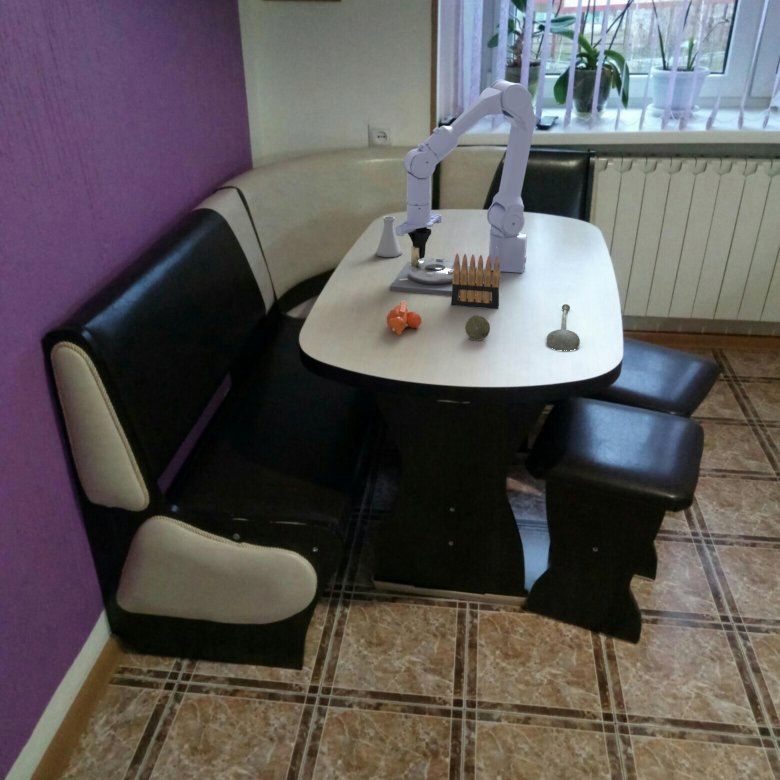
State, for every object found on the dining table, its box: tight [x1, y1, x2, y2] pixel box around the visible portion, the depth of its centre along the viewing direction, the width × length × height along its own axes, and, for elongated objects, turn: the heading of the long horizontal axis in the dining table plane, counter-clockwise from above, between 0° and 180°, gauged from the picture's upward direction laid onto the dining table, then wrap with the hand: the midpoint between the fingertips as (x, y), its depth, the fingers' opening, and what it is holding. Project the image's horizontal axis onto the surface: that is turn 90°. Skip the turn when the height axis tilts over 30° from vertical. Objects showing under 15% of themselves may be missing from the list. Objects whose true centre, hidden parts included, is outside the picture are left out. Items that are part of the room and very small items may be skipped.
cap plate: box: [389, 261, 478, 296], centre depth 179 cm, size 18×18×1 cm
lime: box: [464, 314, 491, 341], centre depth 148 cm, size 4×5×5 cm
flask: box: [375, 215, 403, 258], centre depth 194 cm, size 7×7×10 cm
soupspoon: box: [546, 303, 581, 352], centre depth 152 cm, size 22×3×7 cm
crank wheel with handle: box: [409, 245, 462, 285], centre depth 177 cm, size 13×13×7 cm
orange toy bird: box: [386, 299, 422, 336], centre depth 154 cm, size 5×8×12 cm
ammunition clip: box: [450, 253, 501, 310], centre depth 161 cm, size 11×2×12 cm, turn 76°
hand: (418, 257), depth 179 cm, fingers closed, pressing on crank wheel with handle
